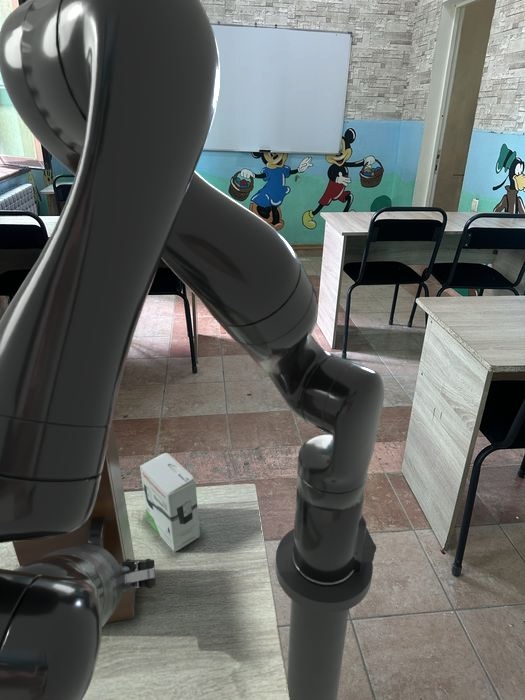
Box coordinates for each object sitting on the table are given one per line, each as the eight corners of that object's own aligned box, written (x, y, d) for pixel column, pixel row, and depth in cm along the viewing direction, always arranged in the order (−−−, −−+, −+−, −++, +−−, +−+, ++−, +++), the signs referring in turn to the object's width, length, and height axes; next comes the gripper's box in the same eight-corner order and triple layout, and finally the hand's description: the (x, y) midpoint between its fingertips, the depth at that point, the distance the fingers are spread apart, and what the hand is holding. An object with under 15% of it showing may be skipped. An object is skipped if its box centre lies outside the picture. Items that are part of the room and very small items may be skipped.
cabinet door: (132, 646, 60) (94, 438, 45) (34, 663, 58) (-38, 452, 43) (134, 611, 64) (100, 411, 50) (42, 626, 62) (-21, 423, 48)
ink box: (145, 521, 78) (137, 463, 73) (171, 506, 81) (165, 449, 76) (174, 554, 72) (168, 494, 67) (201, 537, 75) (197, 478, 70)
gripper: (151, 535, 42) (162, 530, 58) (-17, 559, 40) (43, 546, 56) (156, 631, 40) (166, 597, 56) (-22, 662, 38) (42, 618, 54)
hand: (104, 572), depth 56 cm, fingers closed
